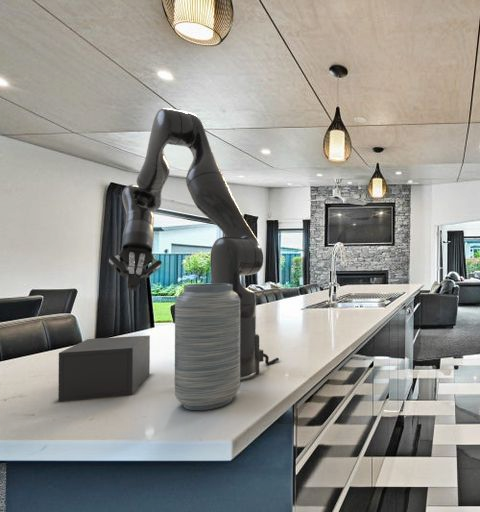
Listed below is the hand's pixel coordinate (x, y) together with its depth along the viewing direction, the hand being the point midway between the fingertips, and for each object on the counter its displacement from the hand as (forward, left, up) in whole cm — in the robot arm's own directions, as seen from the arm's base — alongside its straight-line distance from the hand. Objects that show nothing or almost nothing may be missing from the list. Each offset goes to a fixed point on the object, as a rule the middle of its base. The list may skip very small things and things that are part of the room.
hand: (133, 288), depth 104 cm
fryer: (+10, +17, -20) cm, 28 cm away
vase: (0, +43, -21) cm, 48 cm away
